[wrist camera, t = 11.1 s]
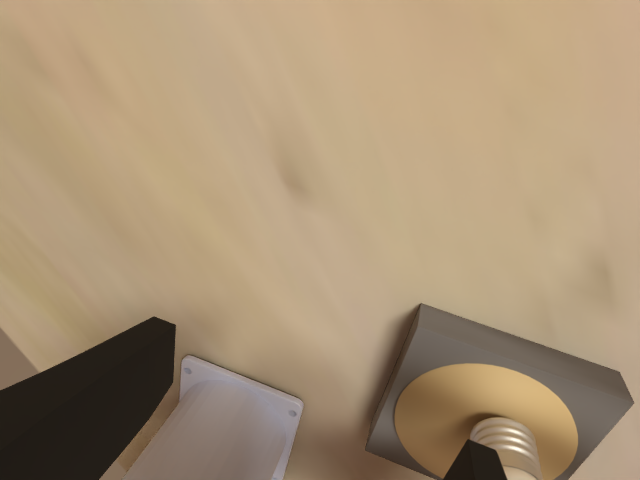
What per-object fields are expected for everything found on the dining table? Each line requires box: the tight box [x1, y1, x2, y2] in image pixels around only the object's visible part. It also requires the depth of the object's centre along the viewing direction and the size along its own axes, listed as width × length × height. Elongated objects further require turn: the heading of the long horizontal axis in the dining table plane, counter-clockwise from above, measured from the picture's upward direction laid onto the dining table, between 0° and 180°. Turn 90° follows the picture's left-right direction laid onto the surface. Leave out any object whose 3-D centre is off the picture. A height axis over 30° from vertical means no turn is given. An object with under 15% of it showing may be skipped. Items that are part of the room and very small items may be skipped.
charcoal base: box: [365, 303, 634, 480], centre depth 21 cm, size 9×9×2 cm
